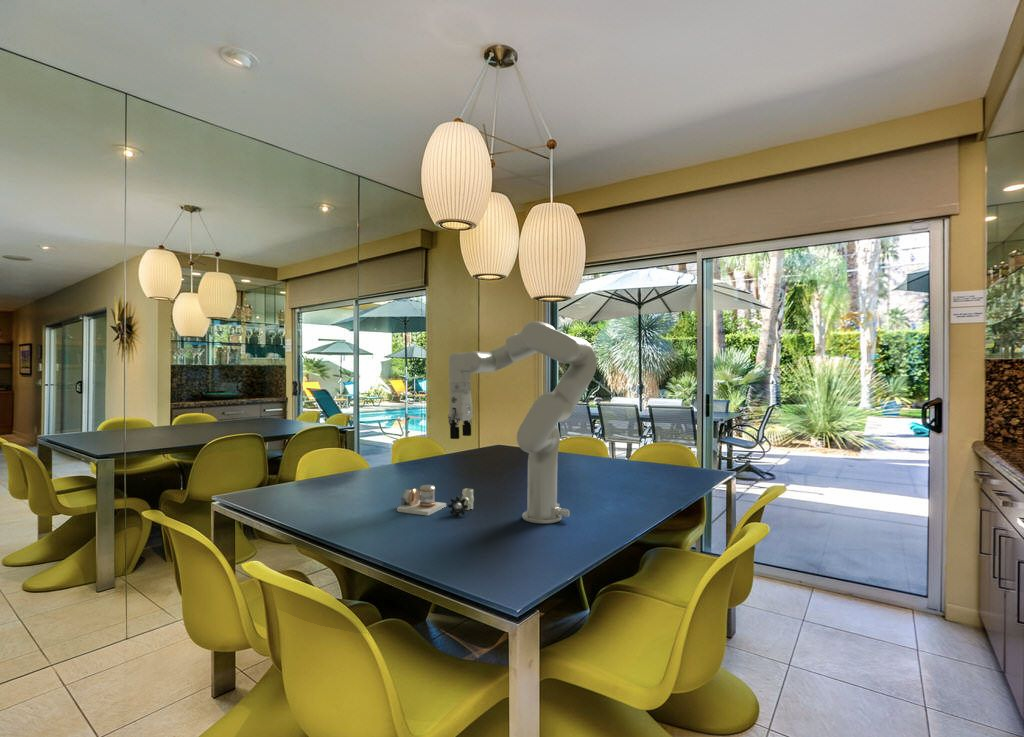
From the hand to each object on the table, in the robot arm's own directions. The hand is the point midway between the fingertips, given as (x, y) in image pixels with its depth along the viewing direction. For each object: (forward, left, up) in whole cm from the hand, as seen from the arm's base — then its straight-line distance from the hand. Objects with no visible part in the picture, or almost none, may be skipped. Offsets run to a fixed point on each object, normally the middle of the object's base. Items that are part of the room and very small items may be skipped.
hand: (461, 437), depth 175 cm
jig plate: (+10, +9, -24) cm, 27 cm away
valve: (-4, +6, -24) cm, 25 cm away
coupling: (+8, +8, -23) cm, 25 cm away
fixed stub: (+15, +9, -24) cm, 30 cm away
